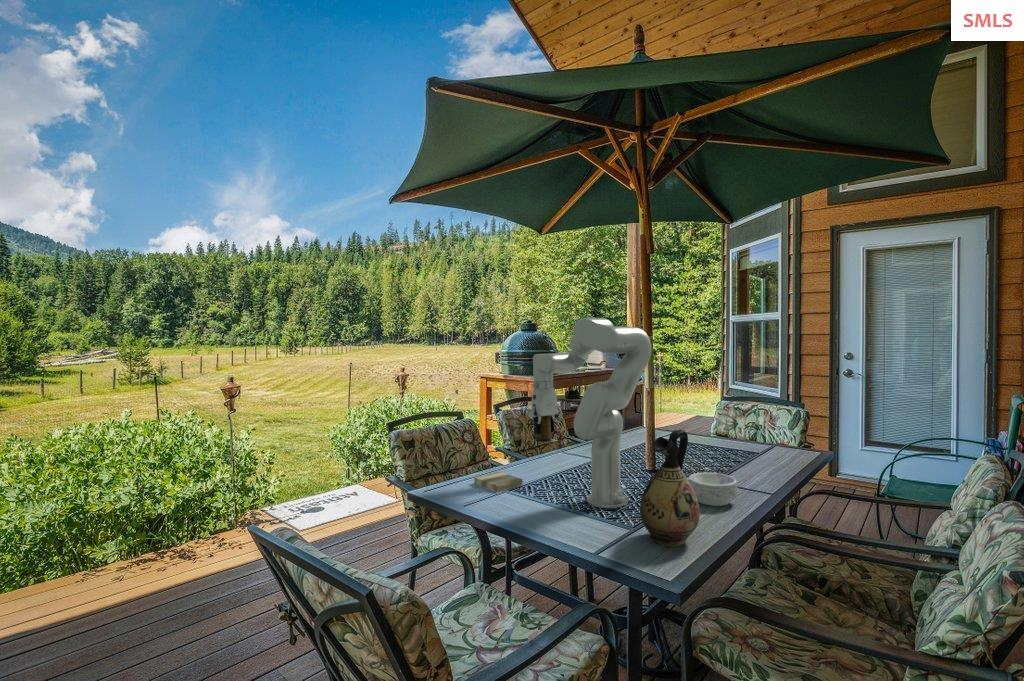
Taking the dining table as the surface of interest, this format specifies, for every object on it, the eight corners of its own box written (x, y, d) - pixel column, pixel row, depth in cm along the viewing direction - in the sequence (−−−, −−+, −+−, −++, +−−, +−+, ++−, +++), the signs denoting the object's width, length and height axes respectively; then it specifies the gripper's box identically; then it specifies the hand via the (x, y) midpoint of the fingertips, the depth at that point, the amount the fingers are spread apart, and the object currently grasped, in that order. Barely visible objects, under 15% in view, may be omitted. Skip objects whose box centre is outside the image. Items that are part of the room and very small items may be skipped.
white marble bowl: (678, 497, 170) (678, 474, 170) (713, 492, 175) (713, 469, 175) (711, 512, 156) (710, 487, 156) (748, 506, 161) (748, 481, 161)
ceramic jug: (676, 558, 125) (675, 438, 124) (628, 537, 137) (627, 429, 137) (715, 540, 134) (714, 430, 134) (667, 523, 147) (666, 422, 147)
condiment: (544, 438, 196) (543, 407, 197) (559, 440, 190) (558, 409, 190) (530, 440, 192) (529, 409, 192) (545, 443, 185) (544, 411, 185)
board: (522, 485, 185) (522, 479, 185) (497, 492, 177) (497, 485, 177) (499, 477, 196) (499, 471, 195) (474, 483, 188) (474, 477, 188)
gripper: (533, 388, 183) (534, 437, 183) (566, 384, 194) (567, 430, 194) (520, 387, 189) (521, 434, 188) (552, 383, 200) (553, 428, 199)
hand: (544, 432), depth 191 cm, fingers closed on condiment, 6 cm apart
